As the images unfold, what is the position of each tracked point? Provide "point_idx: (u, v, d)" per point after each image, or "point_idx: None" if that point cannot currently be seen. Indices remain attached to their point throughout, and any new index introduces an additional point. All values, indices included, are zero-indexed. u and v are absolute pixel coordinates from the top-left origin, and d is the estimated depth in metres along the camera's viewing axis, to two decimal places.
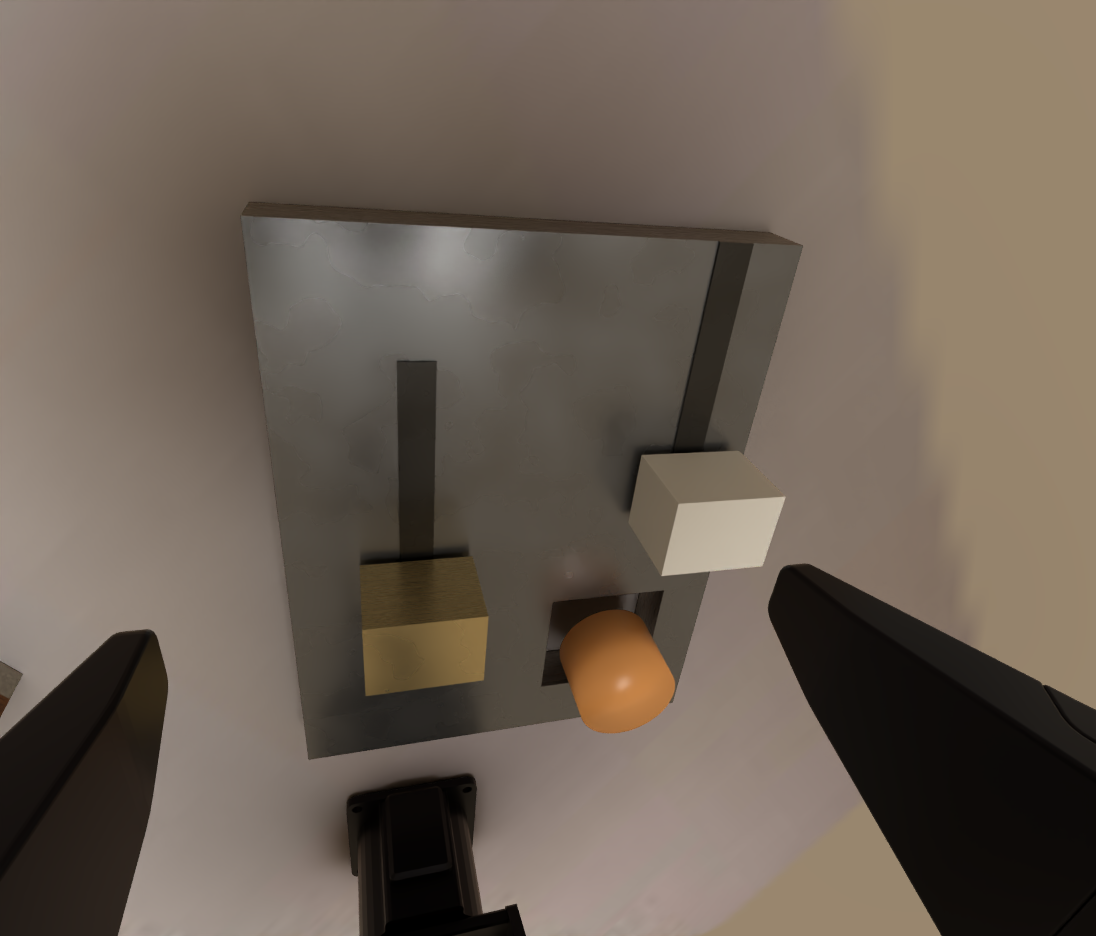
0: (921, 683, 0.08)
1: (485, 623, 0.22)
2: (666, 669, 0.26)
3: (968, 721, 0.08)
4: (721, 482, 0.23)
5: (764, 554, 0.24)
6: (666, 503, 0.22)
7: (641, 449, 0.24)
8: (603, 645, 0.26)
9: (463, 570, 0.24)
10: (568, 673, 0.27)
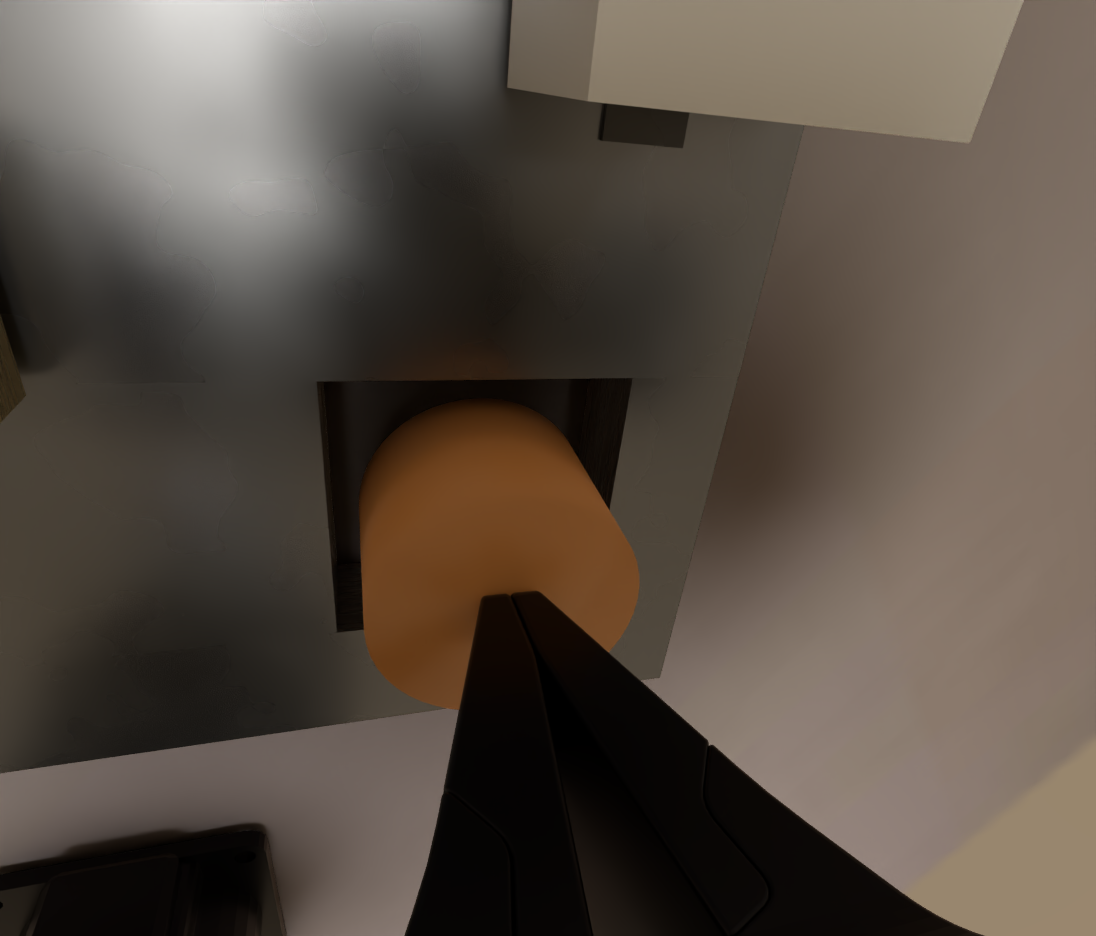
0: (580, 740, 0.07)
1: None
2: (612, 525, 0.09)
3: (609, 790, 0.06)
4: None
5: (987, 79, 0.06)
6: None
7: None
8: (439, 462, 0.09)
9: None
10: None
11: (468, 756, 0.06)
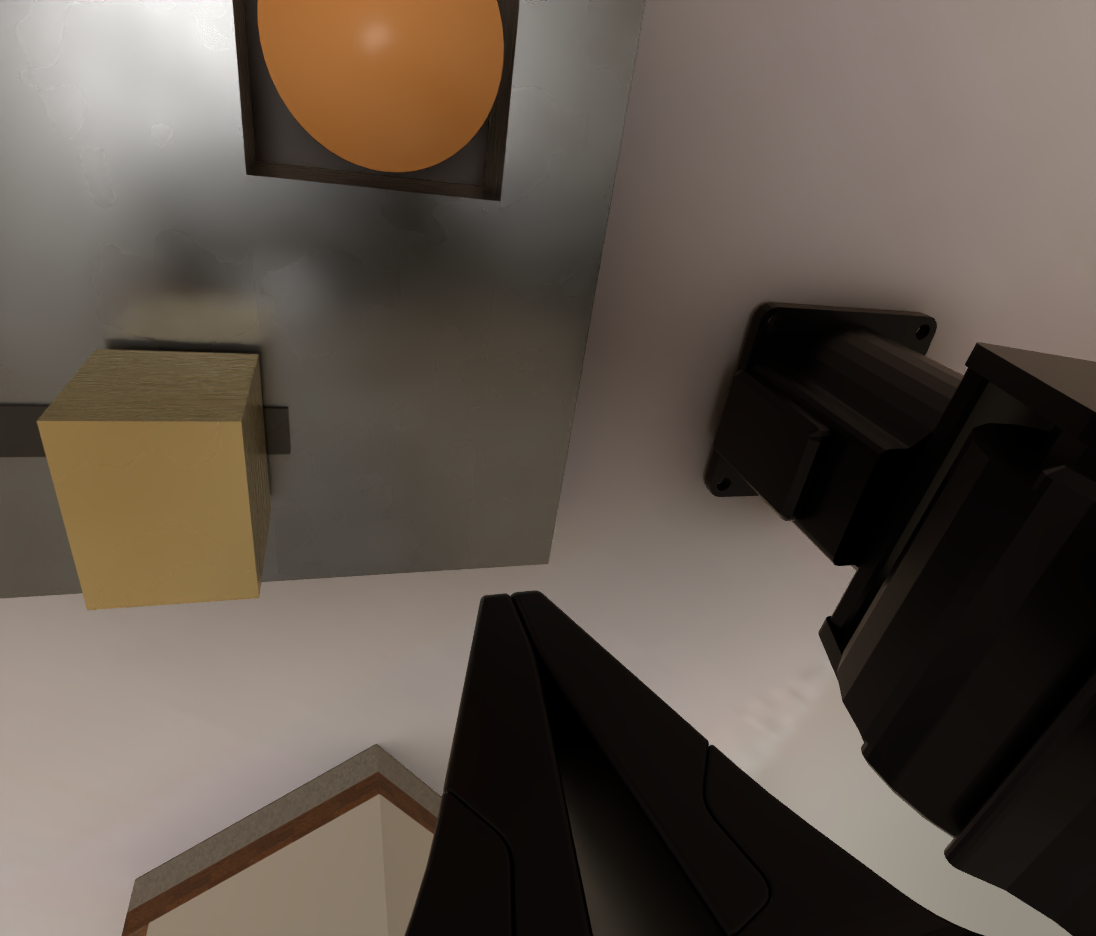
0: (581, 740, 0.07)
1: (60, 425, 0.11)
2: None
3: (609, 790, 0.06)
4: None
5: None
6: None
7: None
8: None
9: None
10: None
11: (467, 756, 0.06)
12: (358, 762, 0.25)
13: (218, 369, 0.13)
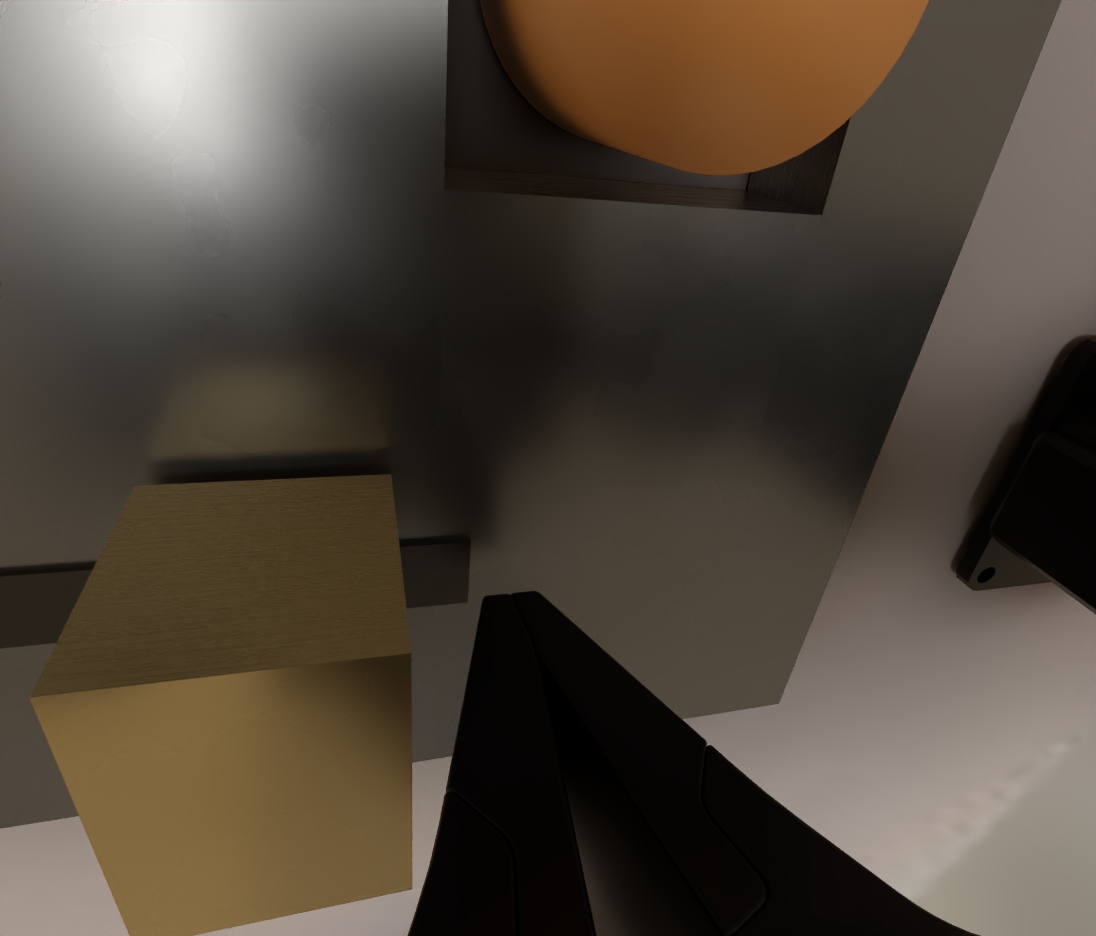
0: (579, 740, 0.07)
1: (76, 698, 0.05)
2: None
3: (607, 790, 0.06)
4: None
5: None
6: None
7: None
8: (516, 22, 0.07)
9: None
10: None
11: (470, 756, 0.06)
12: None
13: (338, 515, 0.08)
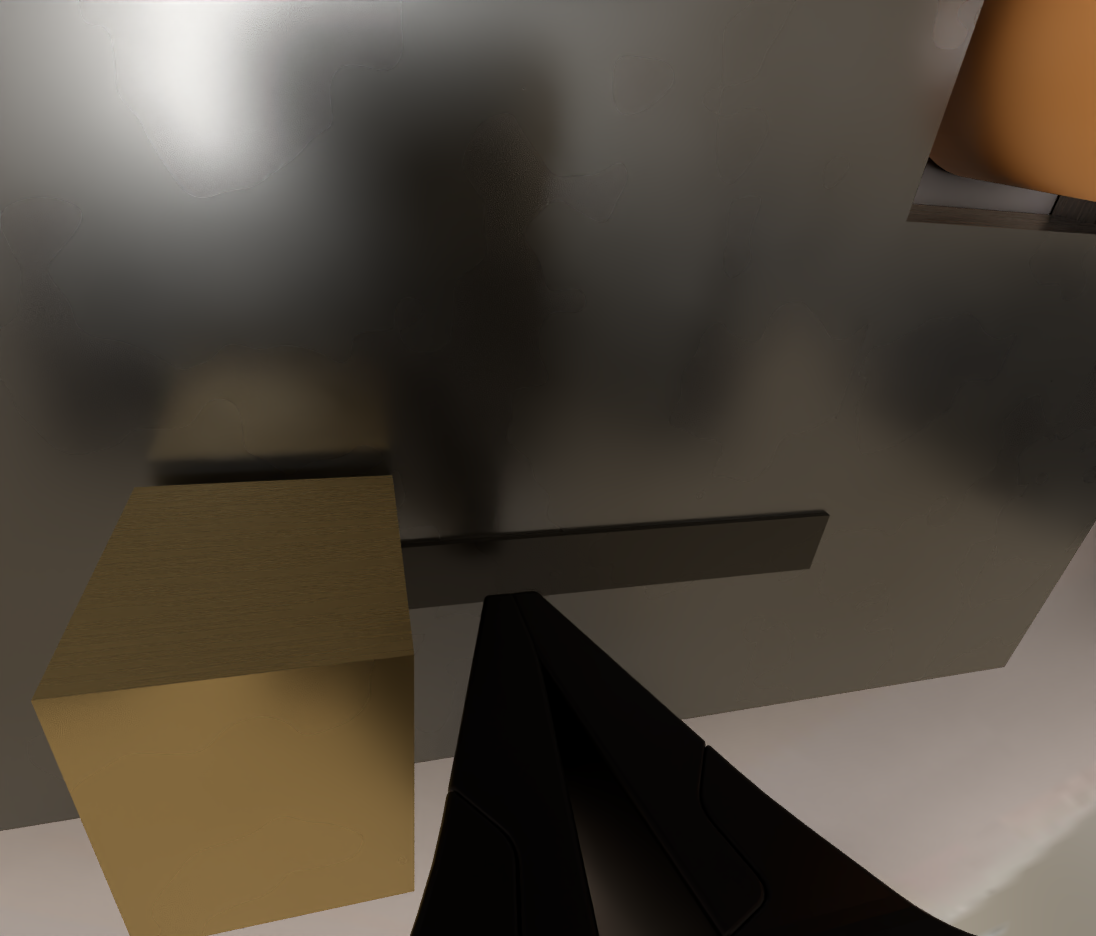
0: (577, 740, 0.07)
1: (78, 701, 0.05)
2: None
3: (606, 790, 0.06)
4: None
5: None
6: None
7: None
8: (1000, 91, 0.08)
9: None
10: None
11: (472, 755, 0.06)
12: None
13: (339, 517, 0.08)
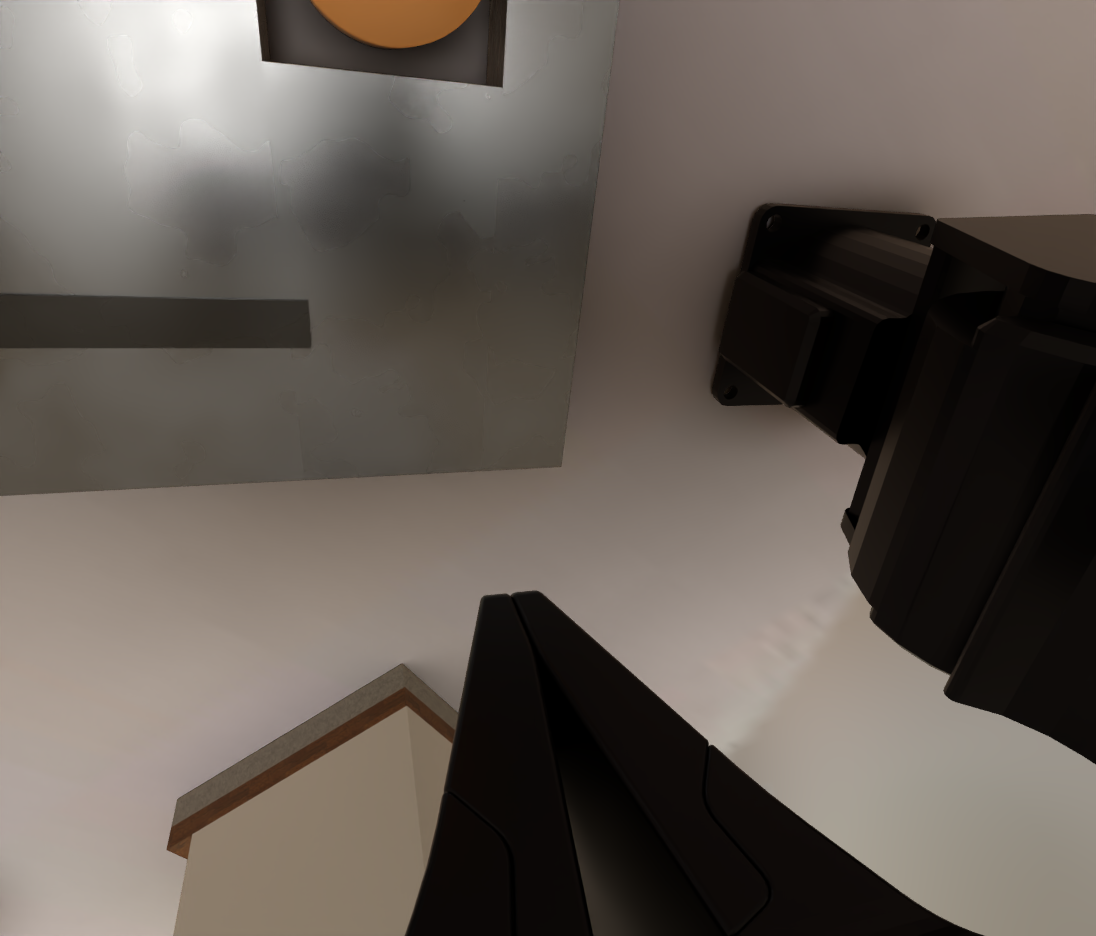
0: (581, 740, 0.07)
1: None
2: None
3: (609, 789, 0.06)
4: None
5: None
6: None
7: None
8: None
9: None
10: (387, 47, 0.14)
11: (468, 756, 0.06)
12: (386, 680, 0.26)
13: None
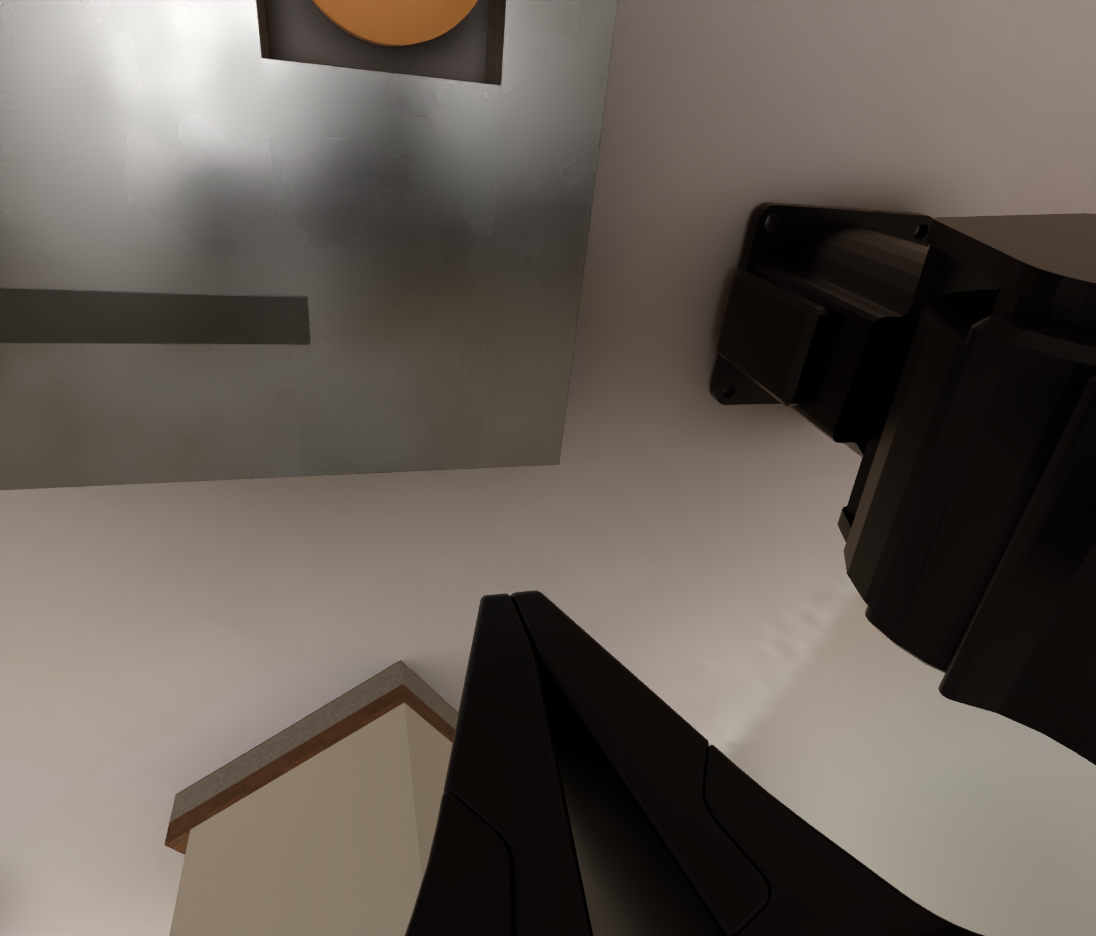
0: (581, 740, 0.07)
1: None
2: None
3: (609, 789, 0.06)
4: None
5: None
6: None
7: None
8: None
9: None
10: (386, 45, 0.14)
11: (468, 756, 0.06)
12: (384, 677, 0.26)
13: None
